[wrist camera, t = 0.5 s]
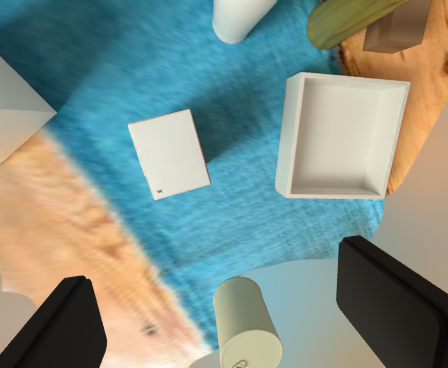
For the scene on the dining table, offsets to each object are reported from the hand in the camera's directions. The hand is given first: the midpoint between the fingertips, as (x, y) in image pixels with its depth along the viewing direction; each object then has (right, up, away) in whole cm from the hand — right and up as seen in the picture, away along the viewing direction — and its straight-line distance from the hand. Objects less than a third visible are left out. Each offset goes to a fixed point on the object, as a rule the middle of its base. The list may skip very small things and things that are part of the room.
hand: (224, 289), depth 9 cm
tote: (+17, +11, +30) cm, 36 cm away
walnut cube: (+24, +27, +27) cm, 45 cm away
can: (+3, -17, +36) cm, 40 cm away
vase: (+15, +27, +26) cm, 40 cm away
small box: (-7, +10, +27) cm, 30 cm away
